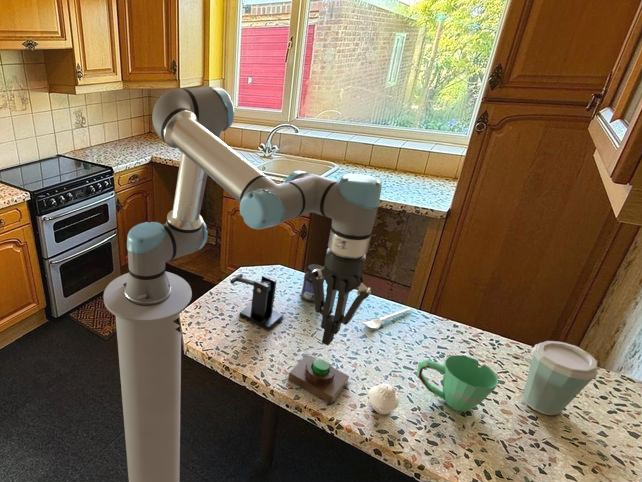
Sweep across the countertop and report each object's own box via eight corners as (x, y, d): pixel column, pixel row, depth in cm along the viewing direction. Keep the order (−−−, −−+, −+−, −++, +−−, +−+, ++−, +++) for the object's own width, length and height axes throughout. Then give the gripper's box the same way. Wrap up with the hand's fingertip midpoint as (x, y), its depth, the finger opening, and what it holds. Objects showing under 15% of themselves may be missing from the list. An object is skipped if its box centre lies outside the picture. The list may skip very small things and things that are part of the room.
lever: (230, 285, 121) (229, 278, 120) (240, 278, 124) (239, 271, 124) (264, 294, 113) (263, 287, 112) (273, 287, 116) (273, 280, 115)
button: (309, 370, 96) (310, 364, 95) (316, 362, 98) (317, 356, 97) (323, 377, 94) (325, 372, 93) (330, 369, 96) (331, 364, 95)
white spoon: (414, 313, 122) (415, 308, 121) (367, 332, 114) (369, 327, 113) (404, 307, 124) (406, 302, 123) (358, 325, 116) (360, 320, 116)
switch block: (288, 379, 98) (290, 366, 96) (305, 360, 104) (308, 348, 102) (331, 404, 91) (334, 391, 89) (347, 382, 97) (350, 370, 95)
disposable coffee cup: (534, 423, 87) (564, 371, 80) (498, 385, 97) (523, 336, 90) (583, 423, 87) (617, 372, 80) (542, 385, 97) (570, 336, 90)
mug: (477, 394, 94) (492, 362, 89) (487, 427, 86) (504, 394, 81) (407, 375, 99) (418, 344, 95) (410, 405, 91) (422, 372, 87)
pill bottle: (324, 301, 127) (330, 271, 122) (307, 304, 126) (312, 274, 121) (313, 290, 133) (319, 262, 128) (297, 293, 131) (302, 264, 126)
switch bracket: (239, 315, 121) (242, 279, 115) (254, 304, 126) (258, 269, 120) (268, 330, 114) (273, 293, 109) (282, 318, 120) (288, 282, 114)
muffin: (381, 395, 94) (388, 373, 90) (401, 416, 88) (409, 393, 85) (359, 401, 92) (365, 378, 89) (377, 422, 87) (385, 400, 84)
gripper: (308, 247, 83) (293, 336, 93) (372, 268, 75) (348, 363, 85) (324, 235, 88) (308, 321, 98) (386, 255, 80) (362, 346, 90)
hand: (327, 341), depth 92 cm, fingers closed
